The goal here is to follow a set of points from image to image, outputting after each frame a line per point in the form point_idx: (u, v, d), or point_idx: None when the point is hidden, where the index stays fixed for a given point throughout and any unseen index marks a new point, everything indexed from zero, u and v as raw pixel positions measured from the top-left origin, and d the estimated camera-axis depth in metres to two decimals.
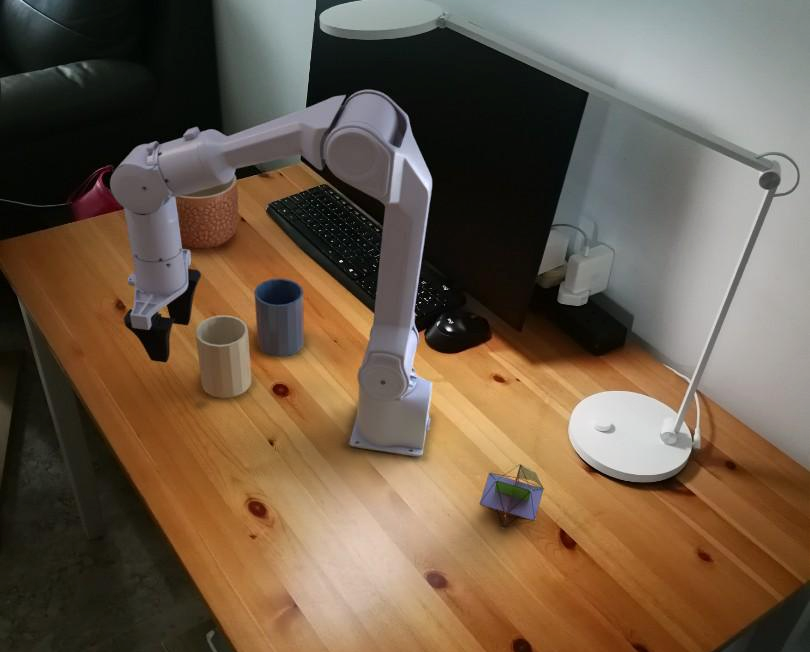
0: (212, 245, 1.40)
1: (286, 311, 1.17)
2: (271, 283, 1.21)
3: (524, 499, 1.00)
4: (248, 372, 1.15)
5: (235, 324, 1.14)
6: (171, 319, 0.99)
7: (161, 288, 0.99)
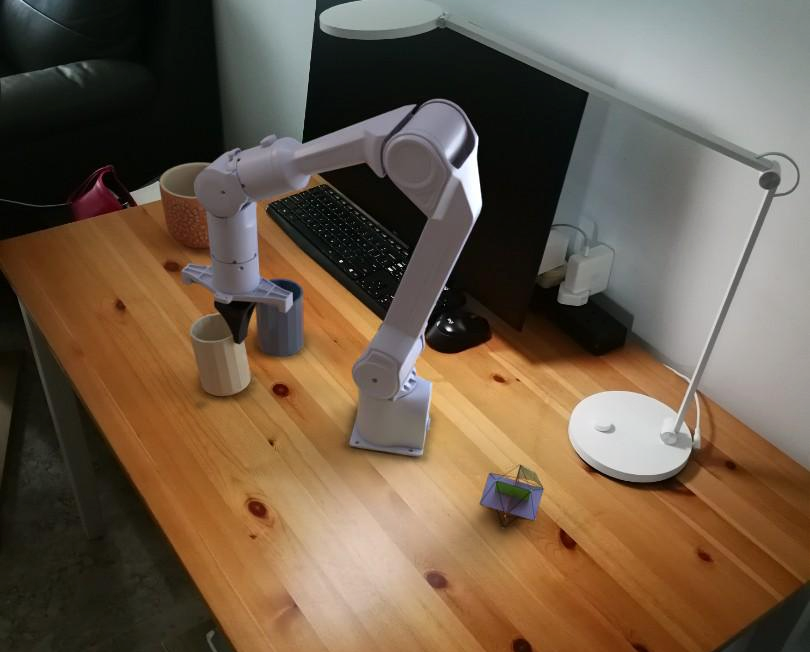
0: None
1: None
2: None
3: (524, 499, 1.00)
4: (246, 368, 1.15)
5: None
6: None
7: (259, 277, 1.05)
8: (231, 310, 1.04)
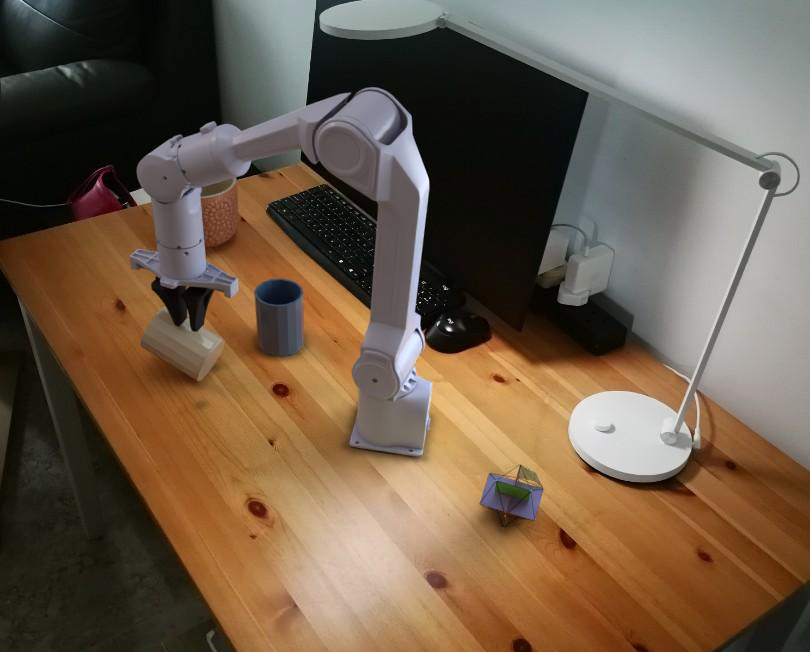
0: (212, 245, 1.40)
1: (286, 311, 1.17)
2: (271, 283, 1.21)
3: (524, 499, 1.00)
4: (202, 333, 1.14)
5: None
6: None
7: (205, 262, 1.06)
8: (186, 298, 1.06)
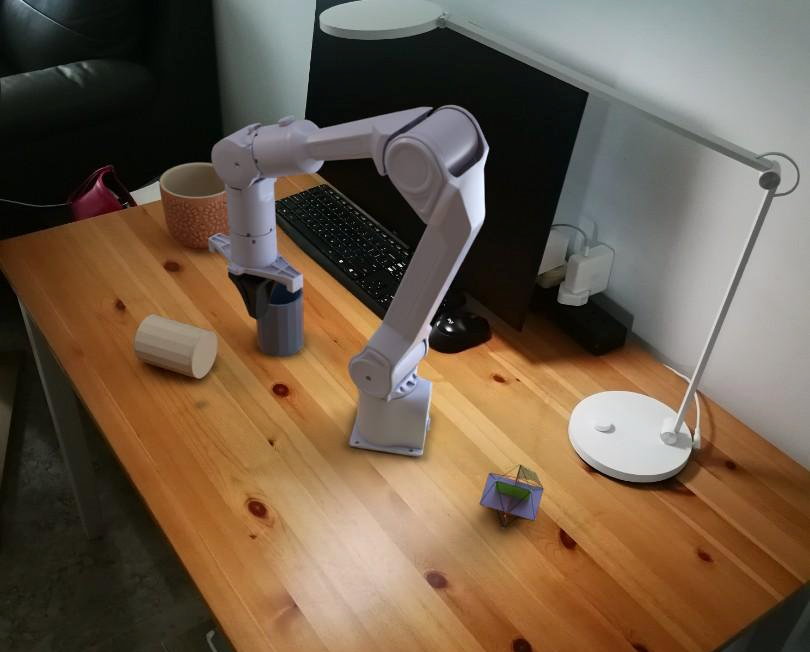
0: None
1: (286, 311, 1.17)
2: None
3: (524, 499, 1.00)
4: (189, 327, 1.15)
5: None
6: None
7: (275, 254, 1.05)
8: (245, 283, 1.06)
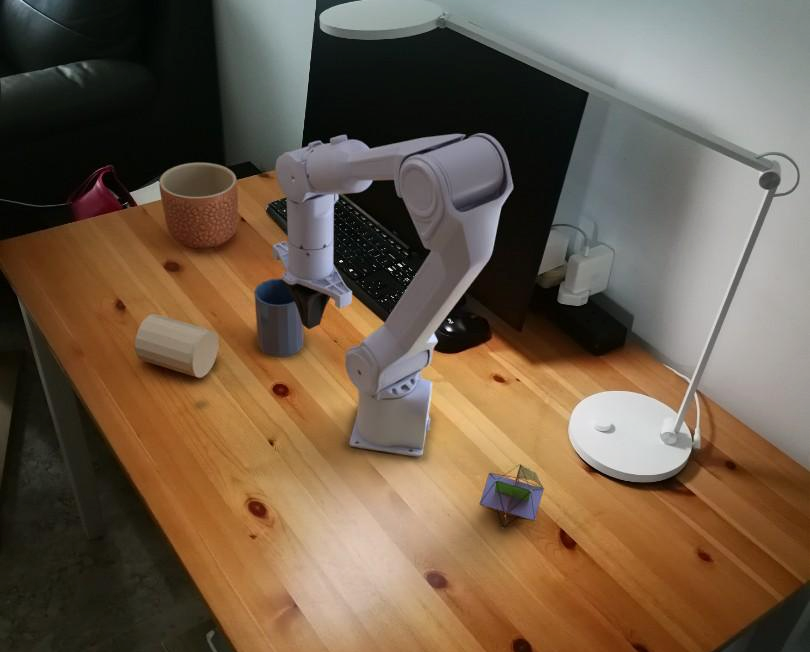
0: (212, 245, 1.40)
1: (286, 311, 1.17)
2: (271, 283, 1.21)
3: (524, 499, 1.00)
4: (190, 326, 1.15)
5: None
6: None
7: (330, 268, 1.08)
8: (298, 293, 1.09)
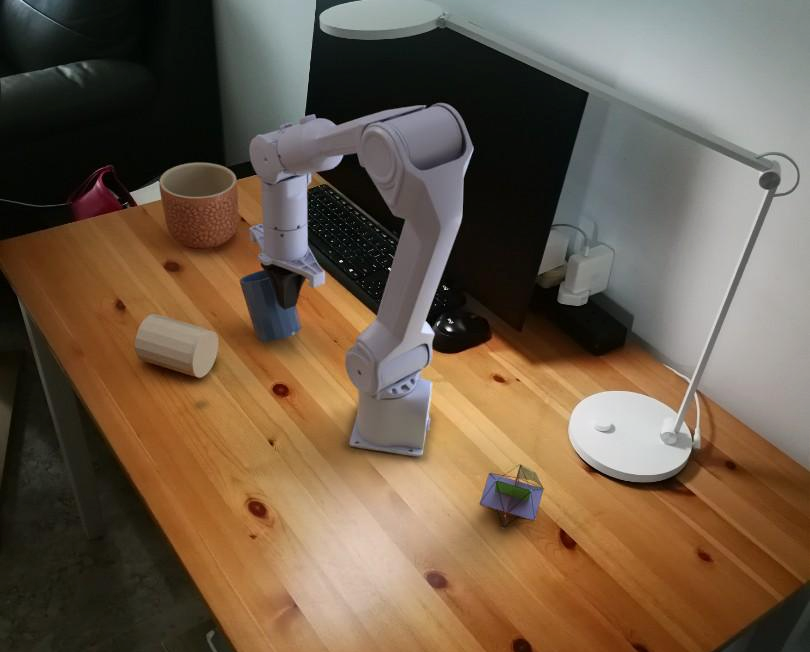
0: (212, 245, 1.40)
1: (269, 285, 1.18)
2: (257, 275, 1.23)
3: (524, 499, 1.00)
4: (190, 326, 1.15)
5: None
6: None
7: (304, 249, 1.11)
8: (273, 274, 1.12)
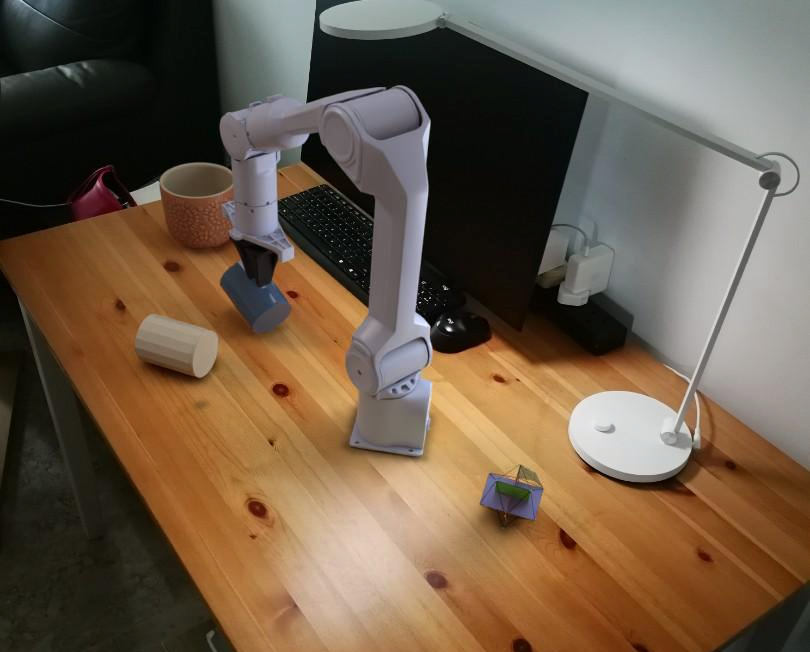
0: (212, 245, 1.40)
1: (240, 267, 1.23)
2: None
3: (524, 499, 1.00)
4: (190, 326, 1.15)
5: None
6: None
7: (274, 225, 1.14)
8: (248, 252, 1.15)
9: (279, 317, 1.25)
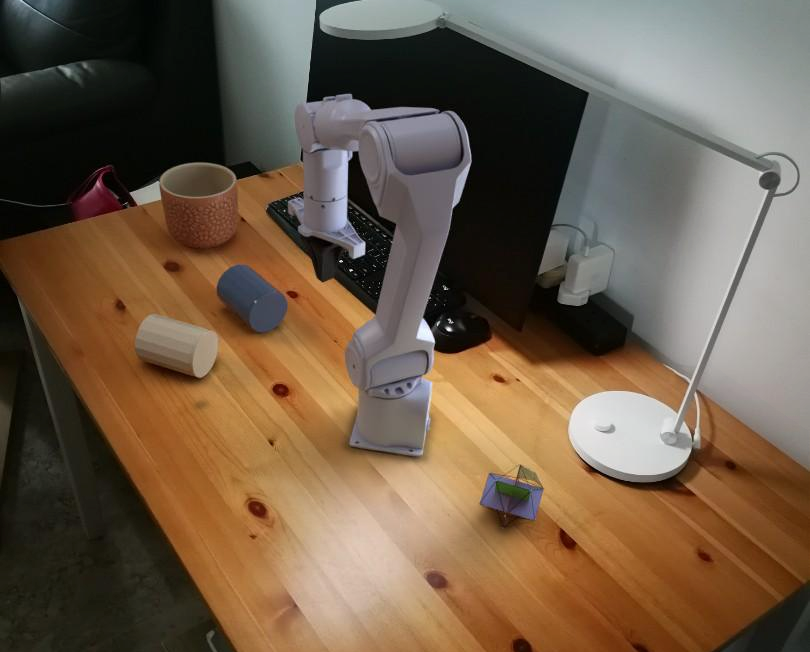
0: (212, 245, 1.40)
1: (233, 270, 1.26)
2: None
3: (524, 499, 1.00)
4: (190, 326, 1.15)
5: None
6: None
7: (344, 221, 1.12)
8: (313, 245, 1.13)
9: (275, 311, 1.25)
